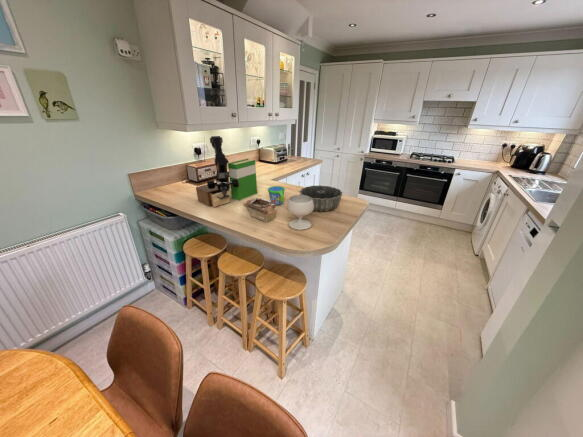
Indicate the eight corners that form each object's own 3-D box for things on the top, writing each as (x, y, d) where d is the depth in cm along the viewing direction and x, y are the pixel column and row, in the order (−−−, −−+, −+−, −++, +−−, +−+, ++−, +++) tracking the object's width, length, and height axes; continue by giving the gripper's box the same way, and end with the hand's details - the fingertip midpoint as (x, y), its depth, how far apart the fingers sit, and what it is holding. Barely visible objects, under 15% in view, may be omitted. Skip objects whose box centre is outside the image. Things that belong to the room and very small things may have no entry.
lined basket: (258, 227, 123) (257, 210, 118) (238, 215, 136) (236, 199, 131) (278, 219, 131) (277, 203, 126) (257, 209, 144) (255, 194, 139)
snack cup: (265, 200, 156) (264, 186, 152) (279, 198, 160) (279, 184, 156) (273, 209, 144) (273, 193, 139) (289, 206, 148) (289, 190, 143)
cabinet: (226, 201, 156) (224, 187, 151) (209, 206, 147) (207, 192, 143) (214, 196, 164) (212, 182, 160) (198, 200, 156) (195, 187, 152)
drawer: (234, 203, 149) (232, 192, 146) (218, 209, 142) (216, 197, 138) (218, 197, 160) (216, 186, 157) (203, 201, 153) (201, 190, 149)
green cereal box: (249, 191, 174) (247, 158, 163) (257, 193, 170) (255, 160, 159) (231, 197, 161) (227, 163, 150) (239, 200, 157) (235, 164, 146)
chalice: (300, 216, 134) (300, 192, 127) (318, 225, 124) (320, 198, 118) (281, 224, 125) (281, 198, 118) (300, 233, 116) (300, 206, 109)
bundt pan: (309, 196, 164) (309, 182, 159) (346, 202, 153) (347, 188, 148) (292, 209, 143) (292, 194, 138) (333, 218, 132) (334, 202, 127)
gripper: (204, 167, 138) (205, 191, 133) (236, 166, 142) (239, 188, 137) (208, 177, 149) (209, 199, 143) (238, 175, 152) (240, 197, 147)
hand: (224, 196), depth 142 cm, fingers closed, pressing on drawer
